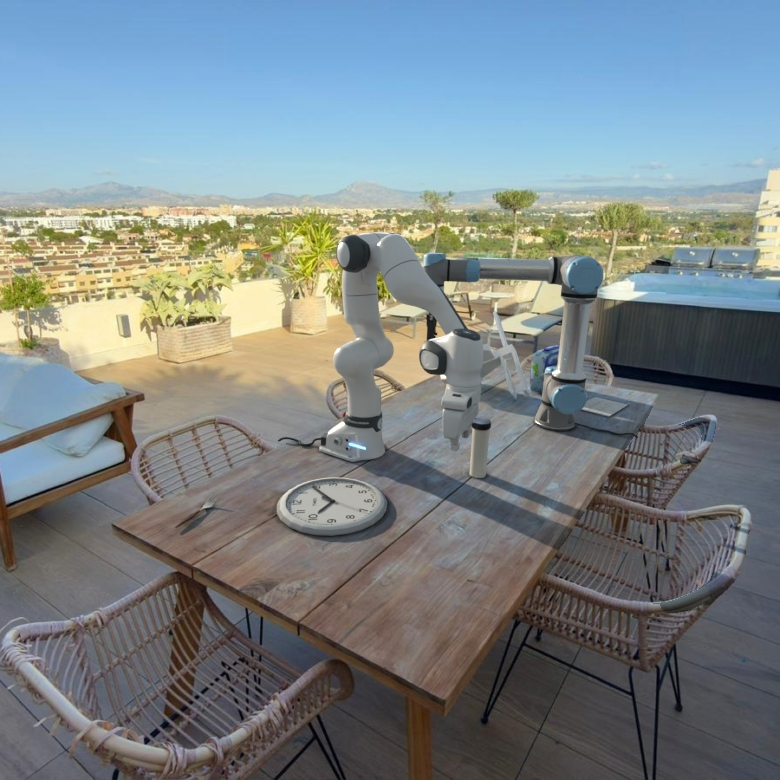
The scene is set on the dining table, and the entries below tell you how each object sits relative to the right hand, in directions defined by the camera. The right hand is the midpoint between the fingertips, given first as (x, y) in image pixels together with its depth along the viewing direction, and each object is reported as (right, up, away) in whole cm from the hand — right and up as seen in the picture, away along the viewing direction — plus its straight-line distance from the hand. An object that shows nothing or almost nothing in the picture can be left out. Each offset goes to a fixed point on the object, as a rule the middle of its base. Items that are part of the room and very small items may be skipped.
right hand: (430, 357), depth 190 cm
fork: (-65, -45, -52) cm, 95 cm away
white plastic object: (+27, -13, +54) cm, 61 cm away
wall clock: (-30, -43, -47) cm, 71 cm away
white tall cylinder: (+13, -38, -27) cm, 49 cm away
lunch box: (+61, -12, +59) cm, 86 cm away
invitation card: (+77, -19, +37) cm, 87 cm away
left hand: (+4, -26, -52) cm, 58 cm away
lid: (+13, -21, -32) cm, 41 cm away
